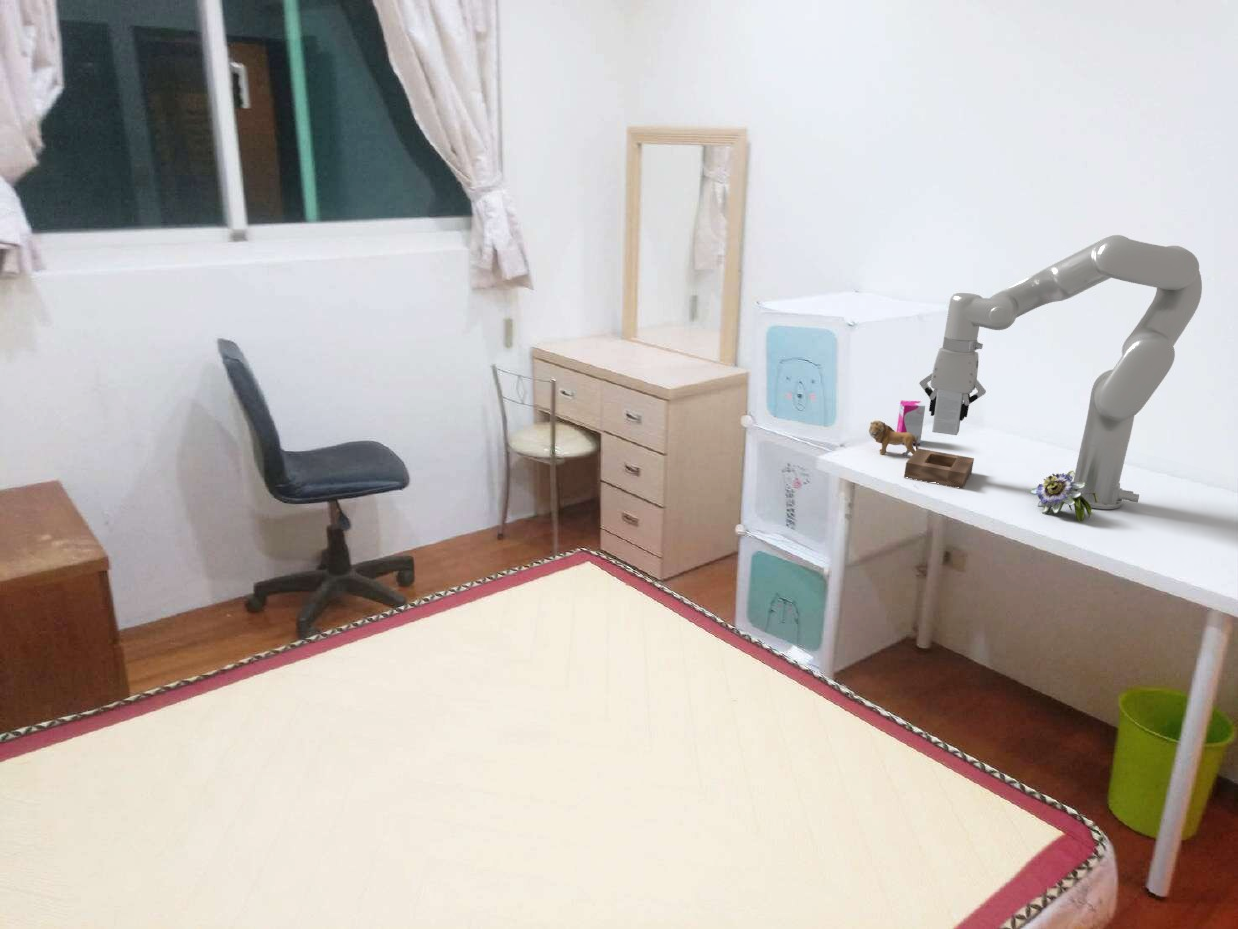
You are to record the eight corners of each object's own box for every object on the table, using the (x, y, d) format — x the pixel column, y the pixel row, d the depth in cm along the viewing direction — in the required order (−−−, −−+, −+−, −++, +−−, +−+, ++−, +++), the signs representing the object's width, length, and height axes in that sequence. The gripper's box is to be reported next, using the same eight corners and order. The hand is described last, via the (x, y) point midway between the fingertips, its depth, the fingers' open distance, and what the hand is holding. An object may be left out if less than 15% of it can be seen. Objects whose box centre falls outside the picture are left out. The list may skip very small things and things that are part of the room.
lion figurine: (865, 454, 242) (869, 422, 239) (866, 448, 247) (870, 417, 244) (922, 461, 238) (927, 429, 235) (922, 455, 243) (927, 423, 240)
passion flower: (1041, 535, 207) (1018, 487, 209) (1072, 519, 212) (1049, 472, 213) (1080, 525, 197) (1055, 474, 198) (1112, 508, 201) (1087, 459, 203)
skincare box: (959, 431, 225) (966, 385, 221) (956, 436, 221) (964, 388, 217) (933, 428, 227) (940, 381, 223) (931, 432, 224) (937, 385, 220)
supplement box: (915, 439, 257) (921, 400, 253) (920, 445, 251) (926, 406, 248) (895, 438, 257) (900, 399, 254) (899, 444, 252) (904, 404, 248)
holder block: (971, 473, 230) (974, 458, 229) (962, 488, 219) (965, 473, 217) (915, 462, 237) (917, 448, 235) (904, 477, 225) (906, 462, 224)
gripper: (999, 347, 216) (986, 419, 222) (925, 338, 224) (914, 408, 230) (995, 353, 210) (981, 426, 216) (919, 343, 218) (908, 414, 223)
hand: (947, 416), depth 223 cm, fingers closed on skincare box, 6 cm apart
